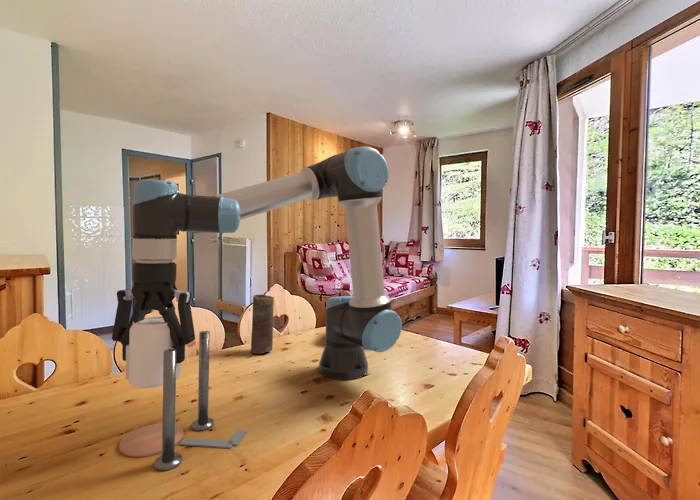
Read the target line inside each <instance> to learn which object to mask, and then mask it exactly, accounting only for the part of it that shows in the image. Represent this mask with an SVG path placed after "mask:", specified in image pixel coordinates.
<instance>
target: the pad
mask: <svg viewBox="0 0 700 500" xmlns="http://www.w3.org/2000/svg"><path fill="white" fill-rule="evenodd" d="M183 439H184V429H183V427H181V426H180V425H178V424H176V423H175V447H176V446H177V445H179V444H180V443H181V442H182V440H183ZM118 449H119V451H120V453H121V454H122V455H124V456H127V457H130V458H145V457H151V456H156V455H159V454H162V422H161V423H154V424H153V423H152V424H149V425H144V426H141V427H139V428H137V429H134V430H133V431H130V432H128V433H127V434H125V436H124V437H122V438H121V440H120V441H119V444H118Z"/></svg>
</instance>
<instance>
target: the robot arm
mask: <svg viewBox="0 0 700 500" xmlns="http://www.w3.org/2000/svg"><path fill="white" fill-rule="evenodd" d="M389 173H390V171H389V165H388V163H387V161H386V159H385V157H384V156H383V154H381V153H380V152H379V150H377V149H376V148H373V147H372V146H362V145H361V146H358V147H352V148H350V149H348V150H346V151H343V152H341V153H336V154H334V155H331V156H330V157H327V158H325V159H323V160H321V161H319V162H317V163H315V164H312V165H309V166H306V167H303V168H301V170H300V172H298V173H297V172H296V173H293V174H289V175H287V176H282V177H279V178H275V179H271V180H267V181H264V182H263V181H262V182H259V183H255V184H253V185H249V186H248V185H247V186H245V187H242V188H238V189H233V190H231V191H226V192H222V193H219V194H215V195H212V196H210V195H199V194H198V195H196V194H186V193H181V192H180V191H179V188H178V185H177V183H175V182H172V181H167V180H163V179H149V178H148V179H140V180H138V181H136V183H134V185H133V186H134V187H133V198H132V249H131V251H132V254H131V256H132V257H131V258H132V260H135V262H133V264H132V267H131V268H132V270H131V271H132V273H131V278H132V281H133V285H132V288H131V289H130V288H126V289H122V290H121V289H120V290H117V291H116V297H117V298H116V300H117V308H116V313H115V316H114V317H115V318H114V324H113V328H112V329H113V330H112V334H111V340H112V341H113V342H118V343H121V345H122V348H121V351H122V354H121V355H122V357H121V359H122V361H124V362H125V380H129V334H130V328H131V326H132V325H133V321H134V322H135V323H136V322H139V321H142V320H144V318H146V315H147V313H148V312H149V311H150V310H154V311H158V313H159V315H160V316H161V317H163V319H164V322H165V323H167V326H168V327H169V329H170V337H171V339H172V342H173V344H174V346H172V347H170V349H176V380H179V378H181V372H182V371H181V369H182V368H181V366H182V364H181V363H183V362H184V361H185V359H186V356H185V355H186V354H185V353H186V346H187V345H189V344H190V343H192V342H194V341H195V340H196V334H195V327H194V321H193V315H192V307H191V300H192V292H191V291H190V290H189V291H187V290H186V291H181V290H178V289H177V288H178V287H177V286H176V282H177V263H176V262H174V260H177V256H178V255H177V247H178V245H177V243H178V236H177V235H178V232H182V233H183V232H189V233H191V234H201V233H212V234H213V233H215V234H219V233H220V234H222V235H223V234H233V233H236V231H237V230H238V229H239V227H240V222H241V220H244V219H247V218H252V217H254V216H257V215H261V214H264V213H267V212H271V211H273V210H277V209H281V208H283V207H285V206H290V205H293V204H296V203H299V202H303V201H306V200H310V201H311V202H315V201H317V200H321V199H327V198H335V197H336V198H337V201H338V204H339V205H340V206H342V207H343V208H344V213H345V222H346V231H347V232H346V233H347V241H348V253H349V263H350V272H351V273H350V274H351V284H352V292H353V295H344V296H343V295H341V296H332V297H329V298H327V301H326V304H325V305H326V306H325V344H324V348H323V351H322V354H321V357H320V359H319V364H318V372H319V373H320V374H321V375H323V376H325V377H326V378H327V377H328V378H330V379H335V380H354V379H353V378H355V379H358V378H357V377H360V376H362V377H364V376H365V375H364V374H365V373H367V371H368V372H369V362H368V359H367V356H366V352H365V350H367V351H372V352H375V353H385V352H387V351H389V350H391V349H392V348H394V347H393V346H395V345H396V343H397V341H398V340H399V339H400V337H401V332H402V328H403V327H402V325H403V324H402V323H403V322H402V319H401V317H400V315H399V314H398V313H397V312H396V311H394V310H393V308H392V299H391V297H390V296H389V295H388V294H386V290H385V282H384V279H385V278H384V270H383V268H384V267H383V260H382V259H383V258H382V257H383V256H382V250H381V249H382V248H381V237H380V236H381V235H380V227H379V225H380V224H379V216H378V215H379V213H378V204H379V203H380V202H381V201H382V198H383V197H382V196H383V194H382V190H383V188H384V187H385V186H386V185H387V183H388V182H389V181H388V180H389V177H390V174H389ZM133 299H135V300H136V302H135V305H134V306H133V305H132V304H133ZM174 299H175V301H176V302H177V312H178V316H177V314H176V307H175V304H174V303H173V301H174ZM132 306H133V310H132ZM131 311H132V315H131ZM178 318H179V319H178ZM367 374H368V373H367ZM363 375H364V376H363ZM360 378H361V377H360Z"/></svg>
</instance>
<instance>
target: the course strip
mask: <svg viewBox="0 0 700 500" xmlns="http://www.w3.org/2000/svg"><path fill="white" fill-rule="evenodd" d="M246 434H247V430H241V429H239V430H238V429H237V430H236V431H235V432H234V434H233V435H232V436H231V438H230V439H229V440H221V439H207V438H192V437H191V438H190V437H183V438H182V440H181V441H180V442H179V443H178V445H179V446H187V447H188V446H189V447H200V448H201V447H202V448H204V447H205V448H216V449H218V448H219V449H231V448H232V446H233V447H234V446H235V447H238V446H239V445H240V443H241V441H242V440H243V438H244V436H246Z"/></svg>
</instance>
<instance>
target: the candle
mask: <svg viewBox="0 0 700 500" xmlns="http://www.w3.org/2000/svg"><path fill="white" fill-rule="evenodd" d="M274 305H275V297H274V296H271V295H266V294H254V295H253V296H252V317H251V318H252V319H251V320H252V321H251V337H250V338H251V344H250V353H251V352H252V353H251V354H253V353H255V354H260V355H261V353H262V354H266V353H265V352H268V353H269V351H270V352H271V351H273V343H274V342H273V341H274Z"/></svg>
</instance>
